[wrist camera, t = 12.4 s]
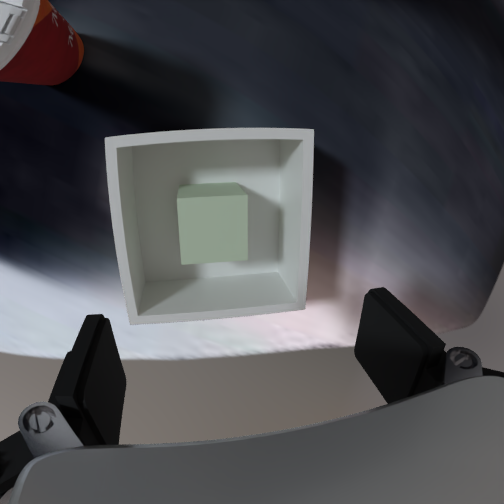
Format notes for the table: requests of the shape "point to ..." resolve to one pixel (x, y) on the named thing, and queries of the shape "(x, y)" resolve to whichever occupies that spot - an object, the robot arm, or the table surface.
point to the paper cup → (37, 43)
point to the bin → (167, 231)
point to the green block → (212, 223)
